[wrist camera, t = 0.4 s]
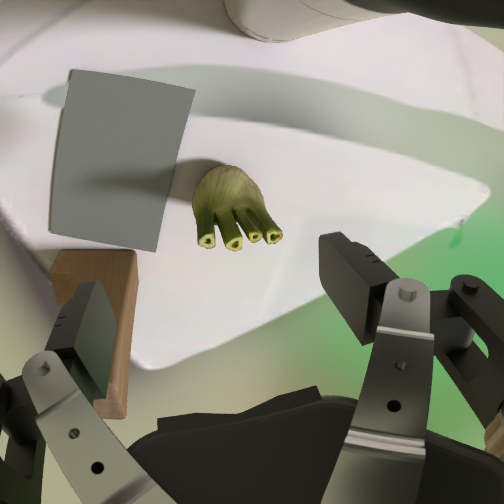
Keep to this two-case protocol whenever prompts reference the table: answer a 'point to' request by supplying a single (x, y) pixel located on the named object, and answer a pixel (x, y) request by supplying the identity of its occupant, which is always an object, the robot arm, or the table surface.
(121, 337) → the wooden block
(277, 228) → the fennel bulb
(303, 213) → the table surface
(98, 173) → the mat
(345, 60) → the table surface
